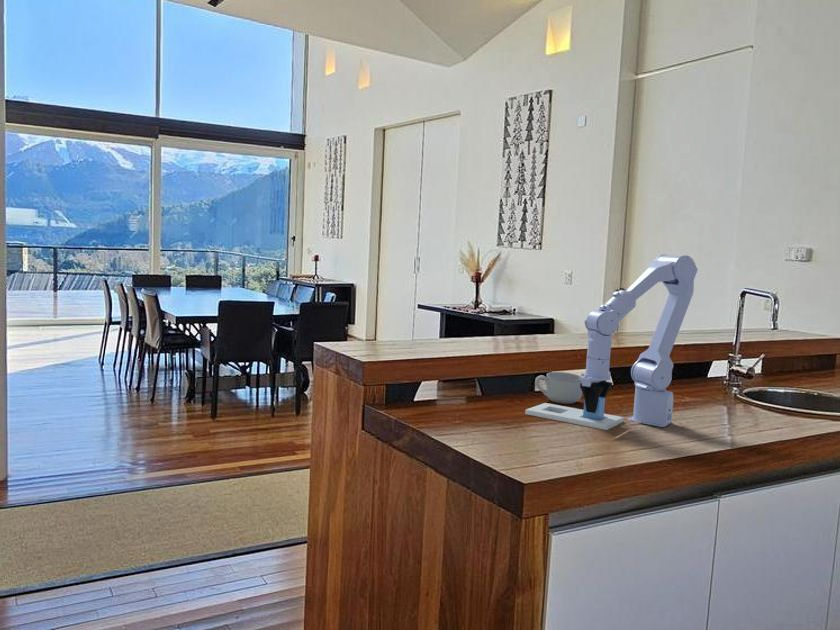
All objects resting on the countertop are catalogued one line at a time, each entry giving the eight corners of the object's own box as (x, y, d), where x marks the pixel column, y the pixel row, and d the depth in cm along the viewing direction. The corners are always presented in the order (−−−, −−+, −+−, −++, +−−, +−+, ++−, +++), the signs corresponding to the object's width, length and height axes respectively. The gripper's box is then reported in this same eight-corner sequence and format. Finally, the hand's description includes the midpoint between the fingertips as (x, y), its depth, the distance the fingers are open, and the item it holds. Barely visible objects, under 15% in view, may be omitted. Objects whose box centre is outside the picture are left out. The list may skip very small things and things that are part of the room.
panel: (623, 423, 183) (623, 417, 183) (606, 431, 174) (607, 425, 173) (544, 408, 196) (545, 402, 196) (525, 415, 186) (525, 409, 186)
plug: (603, 420, 182) (605, 397, 182) (597, 423, 179) (599, 399, 178) (588, 417, 184) (590, 394, 184) (582, 420, 181) (584, 397, 181)
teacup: (579, 400, 210) (582, 373, 209) (584, 408, 199) (586, 380, 199) (532, 396, 211) (534, 370, 211) (534, 404, 201) (536, 376, 200)
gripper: (593, 353, 188) (589, 403, 190) (572, 358, 176) (568, 412, 178) (619, 356, 184) (615, 408, 186) (599, 362, 172) (595, 417, 174)
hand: (594, 410), depth 181 cm, fingers closed on plug, 4 cm apart
